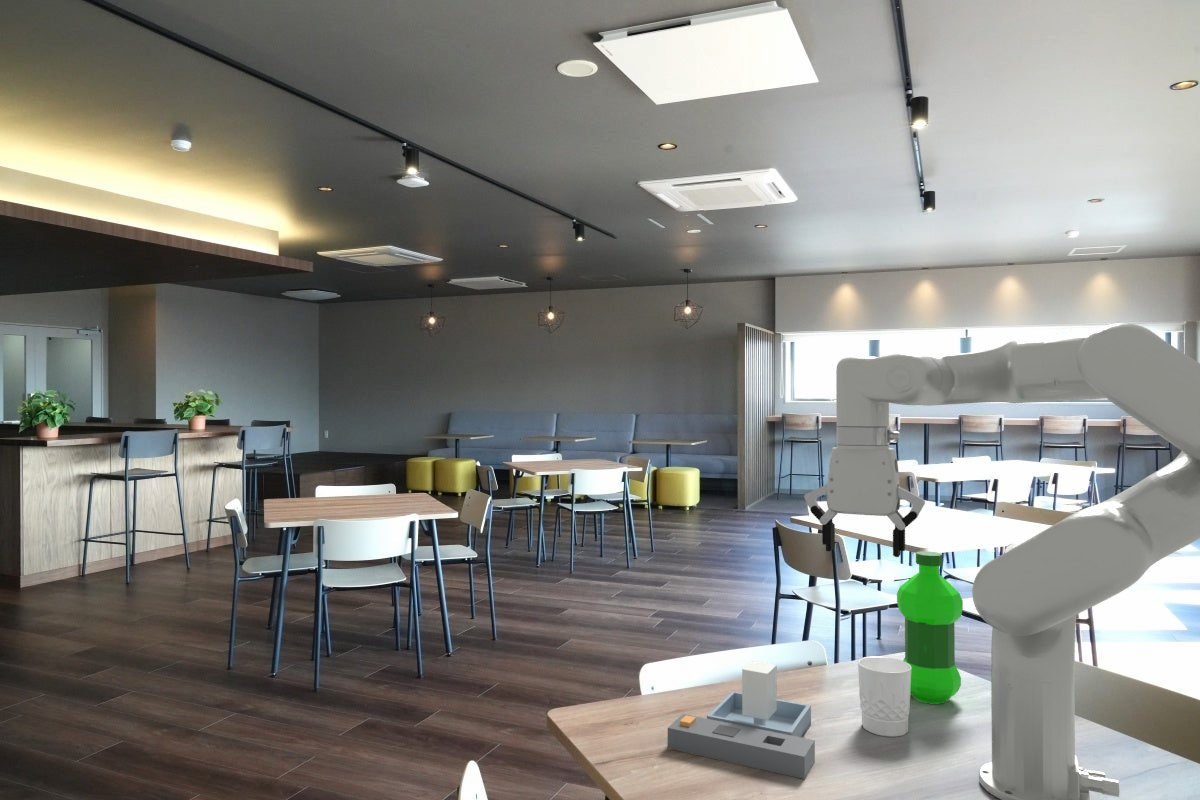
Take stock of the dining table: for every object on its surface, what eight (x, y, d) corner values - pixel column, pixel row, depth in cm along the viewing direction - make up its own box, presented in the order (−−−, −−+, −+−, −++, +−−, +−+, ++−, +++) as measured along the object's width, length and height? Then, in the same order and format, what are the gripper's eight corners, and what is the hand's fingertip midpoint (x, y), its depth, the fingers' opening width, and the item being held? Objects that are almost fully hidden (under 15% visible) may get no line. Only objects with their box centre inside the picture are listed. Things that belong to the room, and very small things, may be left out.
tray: (811, 724, 122) (811, 705, 122) (791, 753, 112) (791, 732, 112) (732, 709, 128) (732, 691, 128) (706, 735, 118) (706, 715, 118)
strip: (814, 761, 109) (814, 735, 109) (804, 779, 104) (804, 752, 104) (683, 733, 119) (683, 709, 119) (667, 748, 113) (667, 723, 113)
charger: (776, 724, 121) (776, 665, 121) (767, 734, 117) (767, 673, 117) (752, 719, 123) (752, 661, 123) (742, 729, 119) (742, 669, 119)
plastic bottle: (887, 698, 134) (886, 553, 134) (915, 683, 141) (914, 546, 141) (945, 714, 126) (944, 561, 127) (972, 698, 133) (971, 553, 134)
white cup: (854, 732, 119) (853, 667, 119) (862, 715, 126) (862, 653, 126) (908, 742, 116) (908, 675, 116) (914, 724, 122) (914, 660, 123)
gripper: (927, 439, 116) (927, 553, 115) (810, 437, 124) (810, 544, 123) (921, 440, 109) (922, 562, 109) (799, 438, 117) (799, 551, 117)
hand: (863, 552), depth 116 cm, fingers open, 9 cm apart
